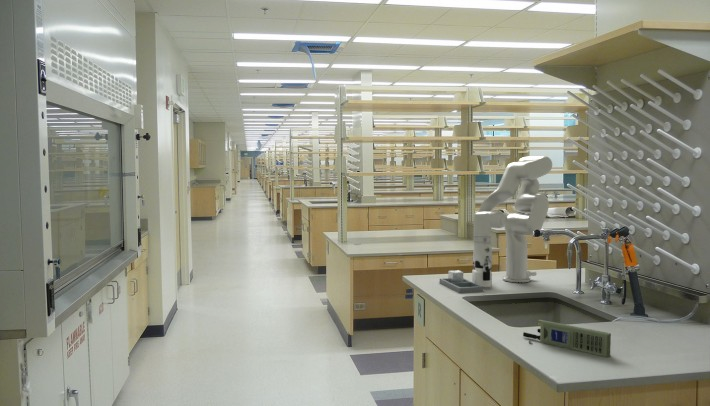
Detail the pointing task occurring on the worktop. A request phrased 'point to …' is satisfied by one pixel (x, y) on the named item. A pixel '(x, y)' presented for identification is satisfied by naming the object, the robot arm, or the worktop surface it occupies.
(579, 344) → the handheld radio
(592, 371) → the worktop surface
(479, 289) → the bay tray
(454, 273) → the steel block
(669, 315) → the worktop surface
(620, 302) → the worktop surface
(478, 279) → the medicine bottle
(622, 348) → the worktop surface
